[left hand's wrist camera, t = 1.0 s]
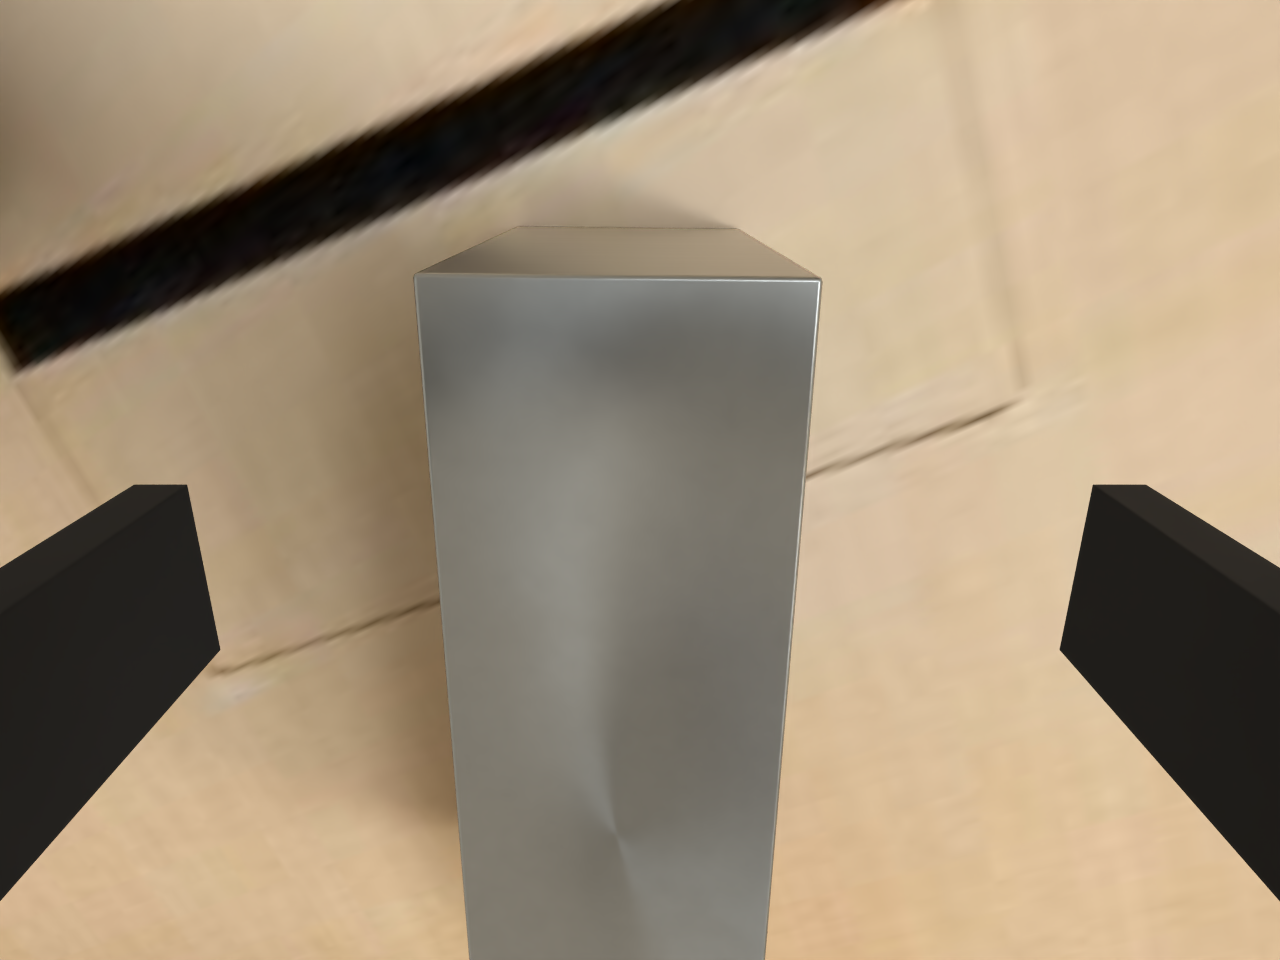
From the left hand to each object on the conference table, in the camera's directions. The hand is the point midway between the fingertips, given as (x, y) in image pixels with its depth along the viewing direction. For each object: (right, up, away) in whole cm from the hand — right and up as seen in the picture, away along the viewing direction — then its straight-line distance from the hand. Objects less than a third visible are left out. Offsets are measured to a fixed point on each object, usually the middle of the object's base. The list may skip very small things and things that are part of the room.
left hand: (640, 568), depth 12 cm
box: (0, -2, +19) cm, 19 cm away
